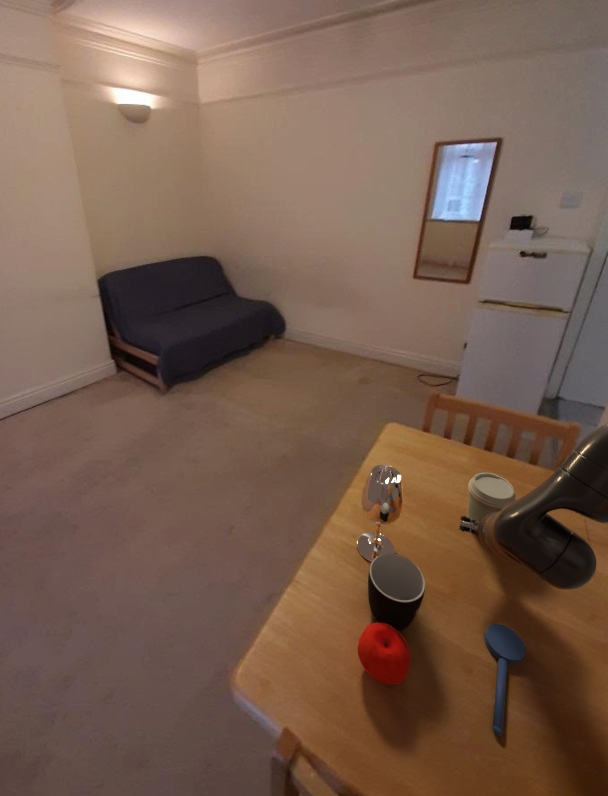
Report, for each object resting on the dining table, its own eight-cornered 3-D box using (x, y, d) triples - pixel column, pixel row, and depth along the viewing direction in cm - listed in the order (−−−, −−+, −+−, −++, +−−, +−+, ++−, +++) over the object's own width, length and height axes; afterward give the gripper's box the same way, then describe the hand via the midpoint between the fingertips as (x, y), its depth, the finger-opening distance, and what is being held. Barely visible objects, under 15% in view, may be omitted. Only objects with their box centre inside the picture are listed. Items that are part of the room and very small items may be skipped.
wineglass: (398, 567, 80) (412, 491, 71) (357, 562, 81) (366, 487, 73) (391, 534, 87) (403, 461, 78) (354, 530, 88) (362, 458, 80)
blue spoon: (486, 622, 70) (487, 617, 70) (524, 640, 67) (526, 635, 67) (473, 723, 58) (475, 718, 57) (519, 750, 55) (522, 745, 54)
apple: (414, 698, 61) (421, 671, 58) (360, 694, 61) (364, 667, 58) (400, 641, 68) (405, 614, 65) (352, 638, 69) (355, 611, 65)
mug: (417, 647, 67) (426, 610, 63) (361, 630, 70) (367, 592, 65) (416, 582, 77) (424, 546, 73) (367, 569, 80) (372, 533, 76)
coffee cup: (503, 520, 89) (517, 478, 84) (503, 549, 83) (517, 506, 77) (461, 505, 93) (471, 465, 88) (457, 533, 87) (468, 491, 81)
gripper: (560, 525, 63) (529, 522, 79) (466, 500, 69) (454, 502, 84) (557, 576, 61) (525, 563, 77) (461, 546, 67) (449, 539, 82)
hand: (488, 531), depth 80 cm, fingers closed
